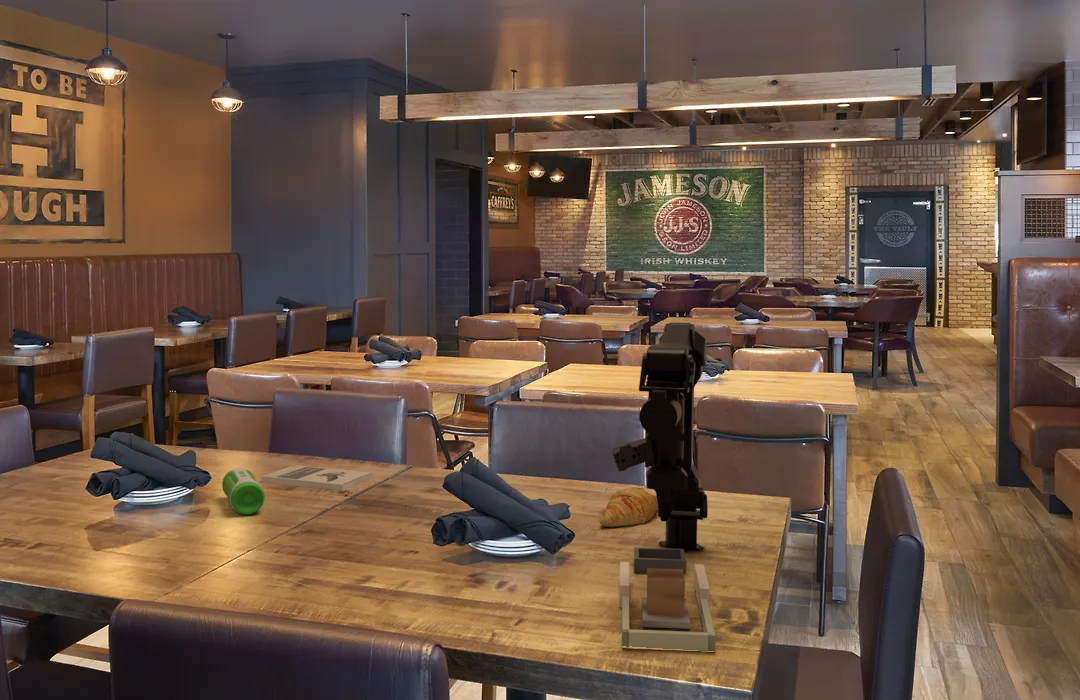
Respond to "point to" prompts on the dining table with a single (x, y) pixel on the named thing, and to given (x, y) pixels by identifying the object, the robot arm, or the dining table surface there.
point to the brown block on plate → (665, 599)
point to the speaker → (243, 491)
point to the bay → (670, 633)
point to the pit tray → (658, 559)
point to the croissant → (629, 508)
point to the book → (317, 477)
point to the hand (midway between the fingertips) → (664, 520)
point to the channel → (699, 582)
